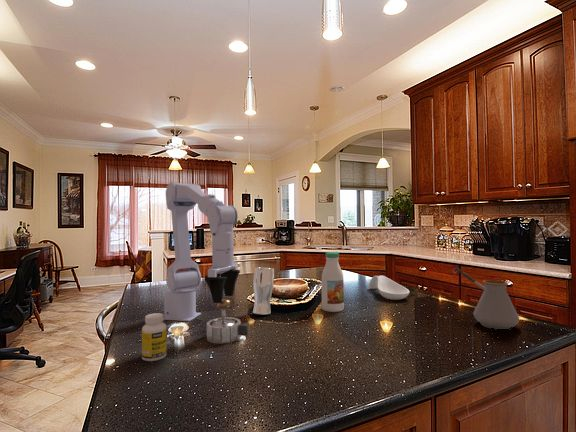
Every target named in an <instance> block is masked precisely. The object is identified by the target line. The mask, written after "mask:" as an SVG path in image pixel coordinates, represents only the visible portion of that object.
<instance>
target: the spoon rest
mask: <svg viewBox="0 0 576 432" xmlns="http://www.w3.org/2000/svg"><path fill="white" fill-rule="evenodd" d="M368 289H369V290H378V292H379V294H380V295H381V296H382V297H383V298H385V299H386V300H389V299H390V300H391V301H400V300H403V299H405V298H407V297H408V296H409V294H410V290H409V289H408V288H406V287H405V286H403V285H401V284H399V283H398V282H396V281H394V280H392V279H391V278H388V277H387V276H385V275H373V276H372V277H371V279H370V280H369V283H368Z"/></svg>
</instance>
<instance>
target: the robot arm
mask: <svg viewBox="0 0 576 432" xmlns="http://www.w3.org/2000/svg"><path fill="white" fill-rule="evenodd" d="M165 203H166V209H167V210H168V211H170V212H171V222H172V235H173V246H174V247H173V249H174V259H175V260H174V261H173V262H172V263H171V264H170V265H169V266H168V267H167V268H166V270H167V271H166V273H167V274H166V285H167V289H169V290H168V291H167V292H166V293H165V294H164V300H163V303H164V305H163V308H164V309H163V310H164V312H163V321H165V320H167V321H177V322H179V321H180V322H182V321H183V322H190V321H192V320H194V319H195V318H197V317H198V316H200V315H202V313H201V312H197V307H196V305H197V304H196V303H197V301H196V296H197V294H196V290H198V288H199V287H200V285H201V283H202V274H201V271H200V267H199V264H198V263H197V262H195V261H194V260H193V259H192V256H191V243H190V233H189V232H190V231H189V221H188V213H189V211H191V210H193V209H194V208H195V206H196V205H197V208H198V210H199V211H200V212H201V213H202V214H203V215H204V216H206V217H207V222H208V224H209V232H210V233H211V237H212V238H211V242H212V243H211V248H212V249H211V250H212V252H211V253H212V254H211V255H212V256H211V257H212V259H211V260H212V265H211V267H210V268H209V269H207V275H205V276H204V281H205V283H206V284H207V287H208V288H209V291H210V295H211V299H212V302H213V304H217V303H222V299H224V296H225V297H233V295H234V294H235V293H234V292H235V289H236V288H235V287H236V283H237V280H238V278H239V276H240V273H241V270H240V269H238V268H239V265H237V261H234V257H235V256H234V253H235V252H234V245H235V244H234V226H235V225H236V224H237V222H238V218H239V216H238V210H237V208H236V207H235V206H234V205H232V204H229V205H226V204H224V202H223V201H222V200H219V199H217V197H216V196H215V194H213V193H210V194H206V193H204V192H203V191H202V187H201V185H199V184H198V183H186V182H185V183H184V182H183V183H181V182H173V181H170V182H169V183H168V185H166V189H165Z"/></svg>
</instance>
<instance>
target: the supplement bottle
mask: <svg viewBox="0 0 576 432" xmlns="http://www.w3.org/2000/svg"><path fill="white" fill-rule="evenodd" d="M163 318H164V313H158V312H156V313H150V314H146V315H145V316H144V321H145V322H144V325H143V326H142V328H141V359H142V360H143V361H146V362H155V361H160V360H162V359H164V358H165V357H166V356H167V330H168V329H167V324H166V323H164V320H163Z"/></svg>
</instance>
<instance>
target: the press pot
mask: <svg viewBox="0 0 576 432" xmlns="http://www.w3.org/2000/svg"><path fill="white" fill-rule="evenodd" d="M218 320H222V317H218V318H213V319H210V320H209V321H207V322H206V340H207V342H209V343H211V344H230V343H233V342H236V341H238V340H239V339H240V338H241V337H242V336H245V337H247V336H248V335H249V324H242V323H241V322H242V320H241V319H239V318H237V317H228V316H226V320H233V321H235V325H232V326H227V327H214V326H212V323H213V322H215V321H218Z"/></svg>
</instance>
